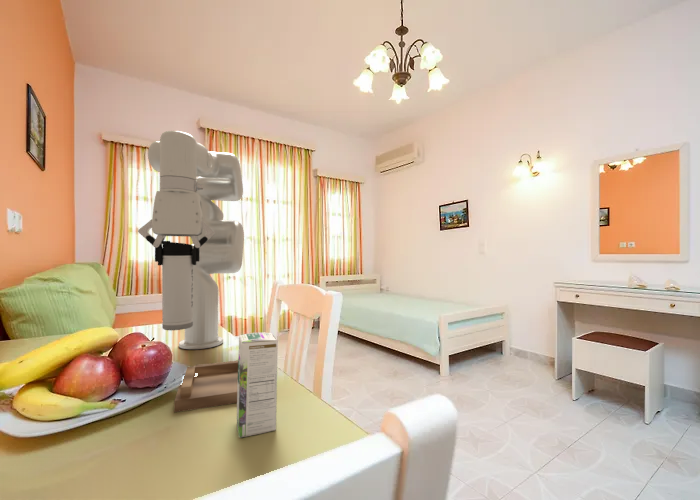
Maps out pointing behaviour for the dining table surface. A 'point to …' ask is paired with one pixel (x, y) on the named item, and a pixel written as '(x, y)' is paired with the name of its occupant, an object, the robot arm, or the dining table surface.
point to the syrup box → (257, 384)
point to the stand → (208, 386)
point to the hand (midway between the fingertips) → (177, 264)
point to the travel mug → (177, 286)
